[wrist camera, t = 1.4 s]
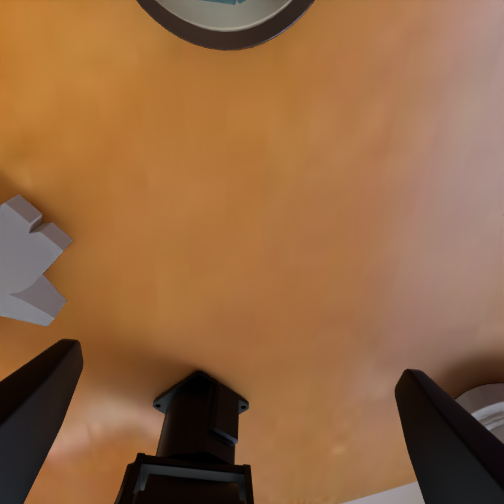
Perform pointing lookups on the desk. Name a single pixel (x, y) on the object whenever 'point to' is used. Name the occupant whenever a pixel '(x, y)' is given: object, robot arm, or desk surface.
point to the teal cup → (226, 1)
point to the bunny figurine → (28, 263)
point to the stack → (226, 20)
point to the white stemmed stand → (486, 407)
